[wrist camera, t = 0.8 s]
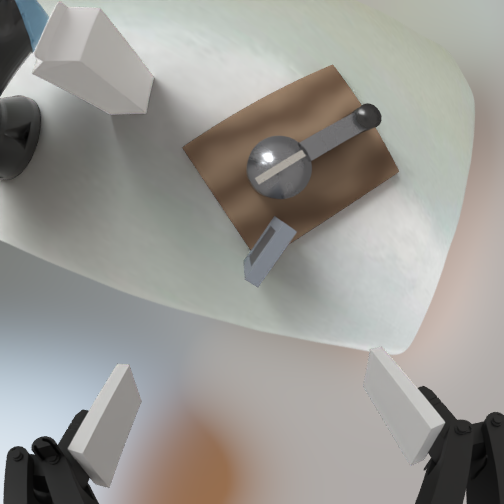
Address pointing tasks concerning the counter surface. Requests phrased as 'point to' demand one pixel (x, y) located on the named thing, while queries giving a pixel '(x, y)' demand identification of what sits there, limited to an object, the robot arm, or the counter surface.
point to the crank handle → (301, 154)
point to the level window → (267, 251)
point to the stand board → (299, 128)
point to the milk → (92, 61)
